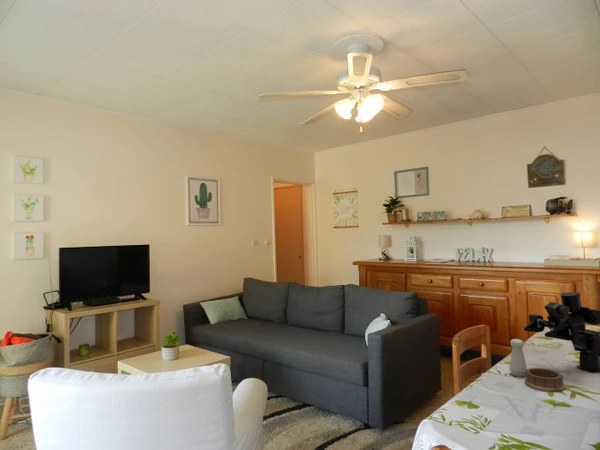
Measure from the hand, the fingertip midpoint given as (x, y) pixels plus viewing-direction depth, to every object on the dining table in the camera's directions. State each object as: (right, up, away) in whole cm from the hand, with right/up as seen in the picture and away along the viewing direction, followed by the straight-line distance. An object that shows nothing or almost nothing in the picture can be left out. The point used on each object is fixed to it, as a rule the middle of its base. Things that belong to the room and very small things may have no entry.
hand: (534, 332), depth 144 cm
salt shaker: (-4, -17, +3) cm, 18 cm away
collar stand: (-1, -16, -8) cm, 18 cm away
